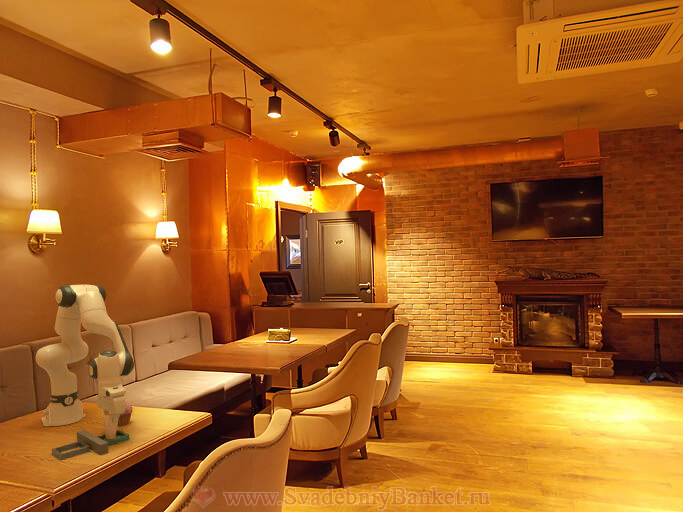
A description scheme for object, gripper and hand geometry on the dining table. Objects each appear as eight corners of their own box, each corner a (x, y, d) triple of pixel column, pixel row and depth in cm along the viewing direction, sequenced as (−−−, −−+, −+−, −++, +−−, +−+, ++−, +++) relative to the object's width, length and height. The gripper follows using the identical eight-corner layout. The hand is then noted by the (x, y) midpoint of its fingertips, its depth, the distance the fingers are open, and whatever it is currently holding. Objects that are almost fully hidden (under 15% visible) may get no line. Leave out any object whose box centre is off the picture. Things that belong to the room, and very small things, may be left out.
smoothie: (111, 440, 203) (112, 406, 204) (99, 439, 205) (100, 405, 206) (122, 435, 209) (123, 403, 210) (109, 434, 211) (110, 402, 212)
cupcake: (109, 425, 229) (108, 404, 229) (126, 419, 236) (125, 399, 236) (120, 428, 224) (119, 406, 224) (137, 422, 231) (136, 401, 231)
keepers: (51, 453, 195) (51, 449, 195) (119, 434, 215) (119, 430, 215) (60, 460, 188) (60, 455, 188) (129, 439, 208) (129, 434, 208)
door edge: (76, 440, 209) (76, 431, 209) (84, 438, 211) (83, 429, 211) (100, 455, 192) (100, 444, 192) (108, 452, 194) (107, 442, 194)
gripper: (93, 387, 212) (94, 418, 212) (112, 394, 199) (113, 427, 198) (107, 384, 217) (108, 414, 217) (127, 390, 203) (128, 423, 203)
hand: (111, 421), depth 208 cm, fingers closed on smoothie, 6 cm apart
